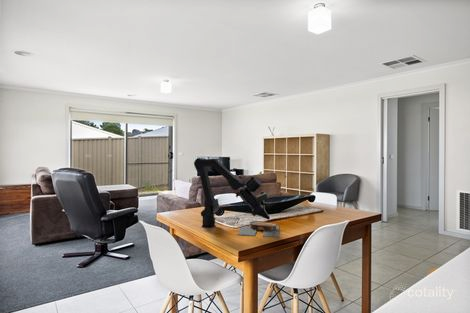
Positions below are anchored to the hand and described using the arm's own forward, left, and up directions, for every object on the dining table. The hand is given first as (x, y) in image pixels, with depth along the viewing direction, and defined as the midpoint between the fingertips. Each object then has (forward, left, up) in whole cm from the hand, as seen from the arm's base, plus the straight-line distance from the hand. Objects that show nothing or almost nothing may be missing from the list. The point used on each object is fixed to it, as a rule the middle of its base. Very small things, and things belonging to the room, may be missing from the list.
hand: (269, 218), depth 150 cm
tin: (-5, +1, -6) cm, 7 cm away
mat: (-5, +1, -7) cm, 9 cm away
